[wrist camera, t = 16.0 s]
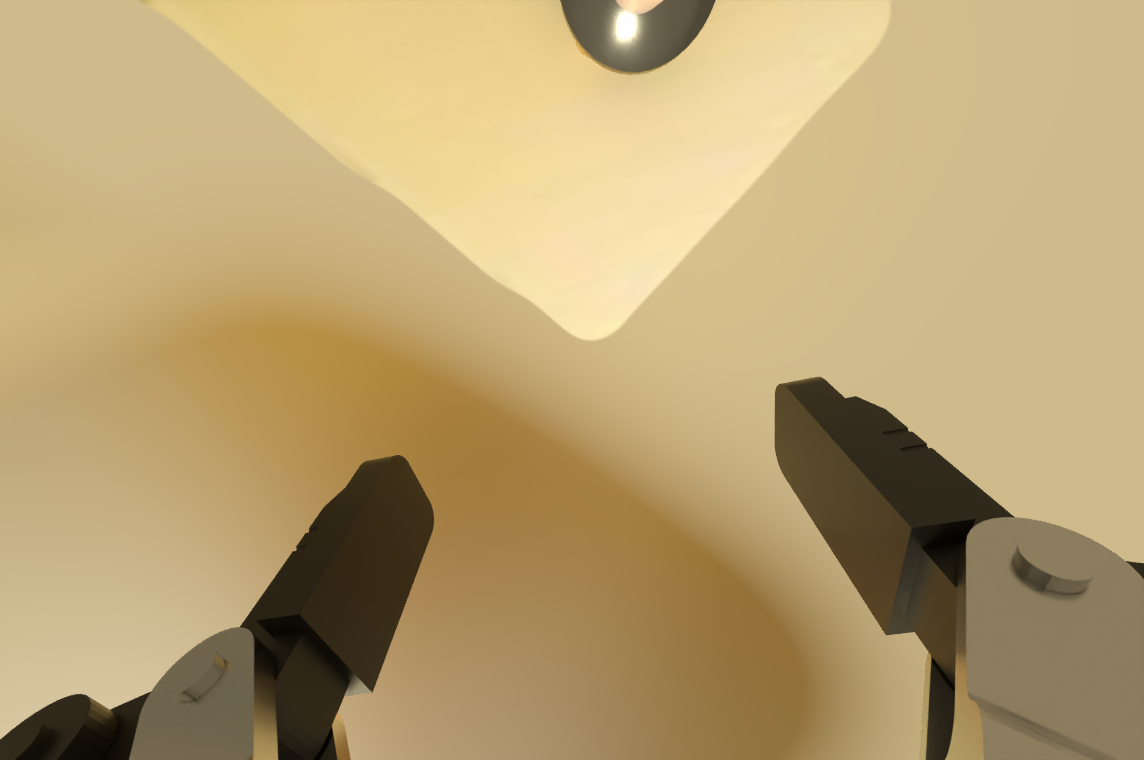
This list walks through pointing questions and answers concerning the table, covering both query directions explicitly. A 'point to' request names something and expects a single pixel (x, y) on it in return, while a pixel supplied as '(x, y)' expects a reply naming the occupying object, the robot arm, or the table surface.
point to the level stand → (634, 32)
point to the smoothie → (638, 5)
